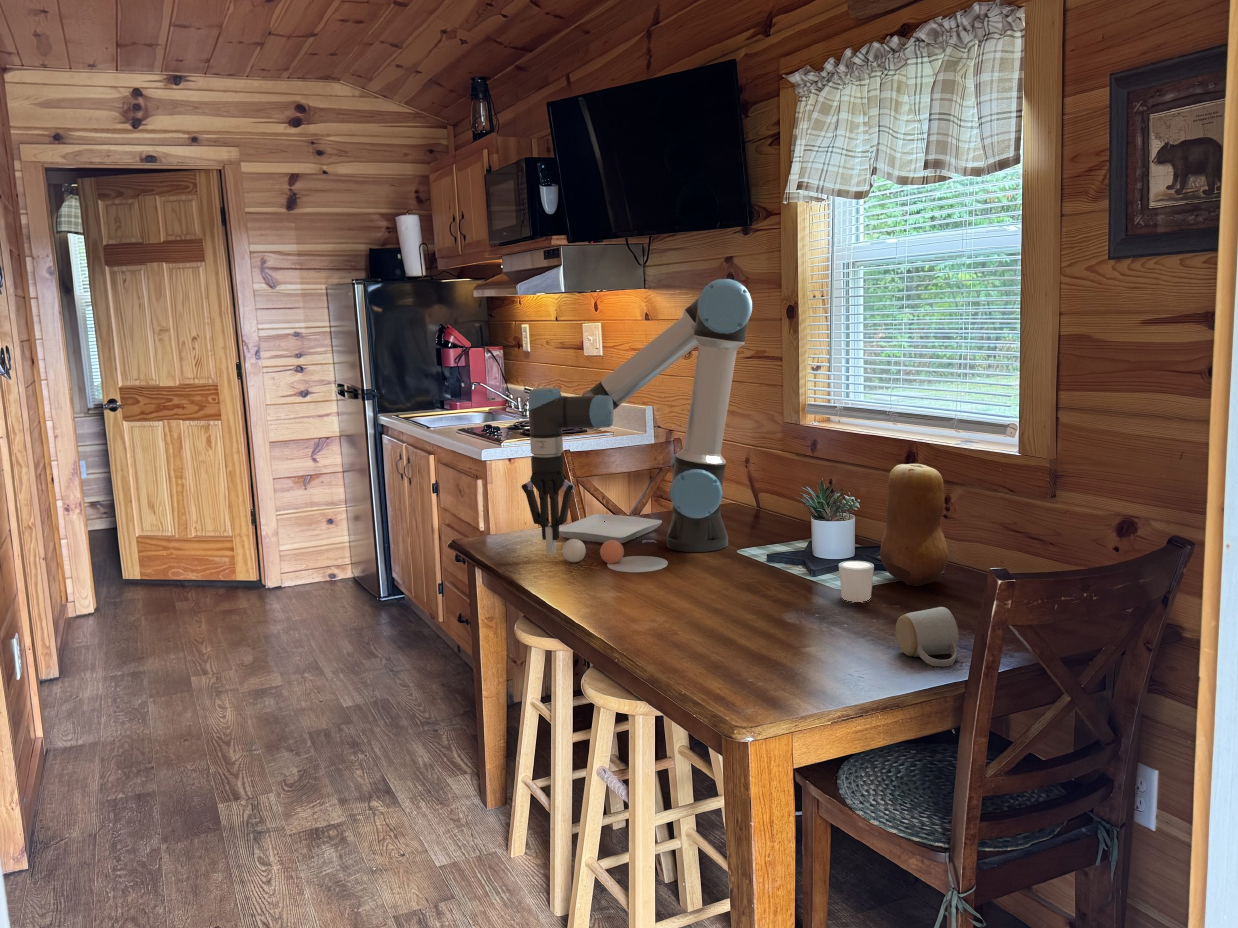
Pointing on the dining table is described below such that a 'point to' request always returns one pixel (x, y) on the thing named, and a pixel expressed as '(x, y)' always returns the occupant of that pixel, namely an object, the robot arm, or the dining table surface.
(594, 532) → the salad plate
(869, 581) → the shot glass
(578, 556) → the ivory ball
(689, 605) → the dining table surface
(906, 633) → the ceramic mug
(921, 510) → the butternut squash
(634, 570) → the oval plate
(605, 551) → the coral ball
